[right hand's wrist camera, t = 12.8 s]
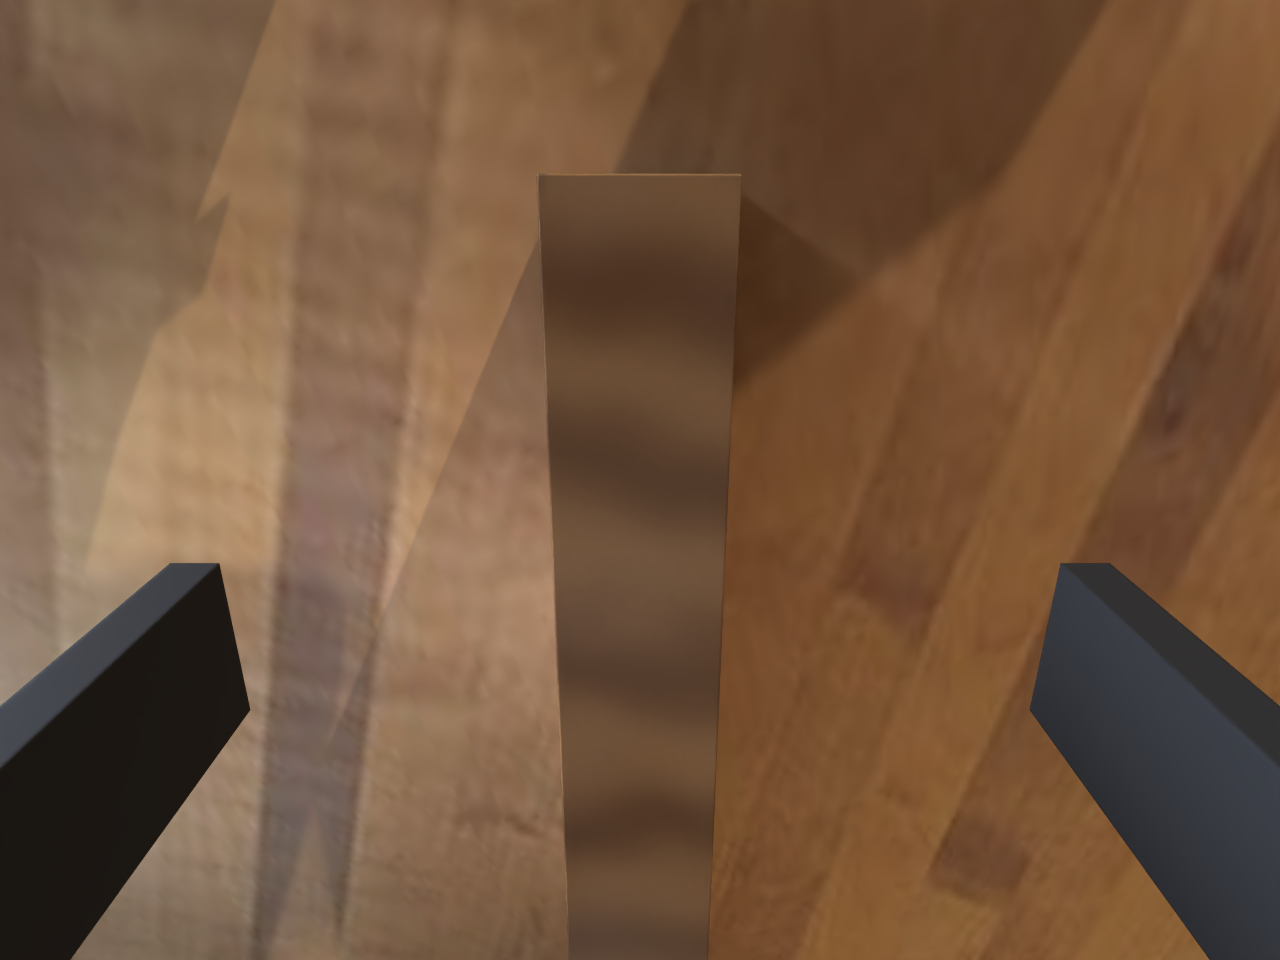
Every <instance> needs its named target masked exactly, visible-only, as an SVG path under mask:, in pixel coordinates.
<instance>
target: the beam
mask: <svg viewBox="0 0 1280 960" xmlns="http://www.w3.org/2000/svg"><path fill="white" fill-rule="evenodd" d="M741 183H742V176H741V174H593V173H539V174H537V198H538V222H539V247H540V271H541V296H542V320H543V344H544V369H545V393H546V417H547V442H548V466H549V490H550V515H551V539H552V564H553V588H554V612H555V637H556V661H557V685H558V710H559V734H560V759H561V783H562V807H563V832H564V856H565V880H566V905H567V929H568V953H569V960H708V947H709V924H710V901H711V878H712V854H713V831H714V808H715V785H716V762H717V739H718V715H719V692H720V669H721V646H722V623H723V600H724V576H725V553H726V530H727V507H728V484H729V461H730V437H731V414H732V391H733V368H734V345H735V322H736V298H737V275H738V252H739V229H740V206H741Z"/></svg>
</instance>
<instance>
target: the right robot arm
mask: <svg viewBox="0 0 1280 960" xmlns="http://www.w3.org/2000/svg"><path fill="white" fill-rule="evenodd" d="M249 711H250V706H249V702H248V697H247V692H246V687H245V683H244V678H243V673H242V668H241V664H240V659H239V654H238V650H237V645H236V640H235V635H234V631H233V626H232V621H231V616H230V612H229V607H228V602H227V597H226V593H225V588H224V583H223V579H222V574H221V569H220V564H219V563H170V564H169V565H168V566H166V567H165V568H164V569H163V570H162V571H161V572H159V573H158V574H157V575H156V576H155V577H153V578H152V579H151V580H150V581H149V582H147V583H146V584H145V585H144V586H143V587H141V588H140V589H139V590H138V591H137V592H136V593H134V594H133V595H132V596H131V597H130V598H128V599H127V600H126V601H125V602H124V603H122V604H121V605H120V606H119V607H118V608H116V609H115V610H114V611H113V612H112V613H111V614H109V615H108V616H107V617H106V618H105V619H103V620H102V621H101V622H100V623H99V624H97V625H96V626H95V627H94V628H93V629H91V630H90V631H89V632H88V633H87V634H86V635H84V636H83V637H82V638H81V639H80V640H78V641H77V642H76V643H75V644H74V645H72V646H71V647H70V648H69V649H68V650H66V651H65V652H64V653H63V654H62V655H61V656H59V657H58V658H57V659H56V660H55V661H53V662H52V663H51V664H50V665H49V666H47V667H46V668H45V669H44V670H43V671H41V672H40V673H39V674H38V675H37V676H35V677H34V678H33V679H32V680H31V681H30V682H28V683H27V684H26V685H25V686H24V687H22V688H21V689H20V690H19V691H18V692H16V693H15V694H14V695H13V696H12V697H10V698H9V699H8V700H7V701H6V702H5V703H3V704H2V705H1V706H0V960H70V959H71V958H72V957H73V955H74V954H75V953H76V951H77V950H78V948H79V947H80V946H81V944H82V943H83V941H84V940H85V939H86V937H87V936H88V934H89V933H90V932H91V930H92V929H93V928H94V926H95V925H96V923H97V922H98V921H99V919H100V918H101V916H102V915H103V914H104V912H105V911H106V909H107V908H108V907H109V905H110V904H111V903H112V901H113V900H114V898H115V897H116V896H117V894H118V893H119V891H120V890H121V889H122V887H123V886H124V885H125V883H126V882H127V880H128V879H129V878H130V876H131V875H132V873H133V872H134V871H135V869H136V868H137V866H138V865H139V864H140V862H141V861H142V860H143V858H144V857H145V855H146V854H147V853H148V851H149V850H150V848H151V847H152V846H153V844H154V843H155V841H156V840H157V839H158V837H159V836H160V835H161V833H162V832H163V830H164V829H165V828H166V826H167V825H168V823H169V822H170V821H171V819H172V818H173V816H174V815H175V814H176V812H177V811H178V810H179V808H180V807H181V805H182V804H183V803H184V801H185V800H186V798H187V797H188V796H189V794H190V793H191V791H192V790H193V789H194V787H195V786H196V785H197V783H198V782H199V780H200V779H201V778H202V776H203V775H204V773H205V772H206V771H207V769H208V768H209V767H210V765H211V764H212V762H213V761H214V760H215V758H216V757H217V755H218V754H219V753H220V751H221V750H222V748H223V747H224V746H225V744H226V743H227V742H228V740H229V739H230V737H231V736H232V735H233V733H234V732H235V730H236V729H237V728H238V726H239V725H240V723H241V722H242V721H243V719H244V718H245V717H246V715H247V714H248V712H249ZM1030 711H1031V712H1032V714H1033V715H1034V717H1035V718H1036V719H1037V721H1038V722H1039V723H1040V725H1041V726H1042V728H1043V729H1044V730H1045V732H1046V733H1047V735H1048V736H1049V737H1050V739H1051V740H1052V742H1053V743H1054V744H1055V746H1056V747H1057V748H1058V750H1059V751H1060V753H1061V754H1062V755H1063V757H1064V758H1065V760H1066V761H1067V762H1068V764H1069V765H1070V767H1071V768H1072V769H1073V771H1074V772H1075V773H1076V775H1077V776H1078V778H1079V779H1080V780H1081V782H1082V783H1083V785H1084V786H1085V787H1086V789H1087V790H1088V791H1089V793H1090V794H1091V796H1092V797H1093V798H1094V800H1095V801H1096V803H1097V804H1098V805H1099V807H1100V808H1101V810H1102V811H1103V812H1104V814H1105V815H1106V816H1107V818H1108V819H1109V821H1110V822H1111V823H1112V825H1113V826H1114V828H1115V829H1116V830H1117V832H1118V833H1119V835H1120V836H1121V837H1122V839H1123V840H1124V841H1125V843H1126V844H1127V846H1128V847H1129V848H1130V850H1131V851H1132V853H1133V854H1134V855H1135V857H1136V858H1137V860H1138V861H1139V862H1140V864H1141V865H1142V866H1143V868H1144V869H1145V871H1146V872H1147V873H1148V875H1149V876H1150V878H1151V879H1152V880H1153V882H1154V883H1155V885H1156V886H1157V887H1158V889H1159V890H1160V891H1161V893H1162V894H1163V896H1164V897H1165V898H1166V900H1167V901H1168V903H1169V904H1170V905H1171V907H1172V908H1173V909H1174V911H1175V912H1176V914H1177V915H1178V916H1179V918H1180V919H1181V921H1182V922H1183V923H1184V925H1185V926H1186V928H1187V929H1188V930H1189V932H1190V933H1191V934H1192V936H1193V937H1194V939H1195V940H1196V941H1197V943H1198V944H1199V946H1200V947H1201V948H1202V950H1203V951H1204V953H1205V954H1206V955H1207V957H1208V958H1209V959H1210V960H1280V706H1279V705H1278V704H1277V703H1275V702H1274V701H1273V700H1272V699H1271V698H1270V697H1268V696H1267V695H1266V694H1265V693H1264V692H1262V691H1261V690H1260V689H1259V688H1258V687H1256V686H1255V685H1254V684H1253V683H1252V682H1250V681H1249V680H1248V679H1247V678H1246V677H1245V676H1243V675H1242V674H1241V673H1240V672H1239V671H1237V670H1236V669H1235V668H1234V667H1233V666H1231V665H1230V664H1229V663H1228V662H1227V661H1225V660H1224V659H1223V658H1222V657H1221V656H1219V655H1218V654H1217V653H1216V652H1215V651H1214V650H1212V649H1211V648H1210V647H1209V646H1208V645H1206V644H1205V643H1204V642H1203V641H1202V640H1200V639H1199V638H1198V637H1197V636H1196V635H1194V634H1193V633H1192V632H1191V631H1190V630H1189V629H1187V628H1186V627H1185V626H1184V625H1183V624H1181V623H1180V622H1179V621H1178V620H1177V619H1175V618H1174V617H1173V616H1172V615H1171V614H1169V613H1168V612H1167V611H1166V610H1165V609H1164V608H1162V607H1161V606H1160V605H1159V604H1158V603H1156V602H1155V601H1154V600H1153V599H1152V598H1150V597H1149V596H1148V595H1147V594H1146V593H1144V592H1143V591H1142V590H1141V589H1140V588H1139V587H1137V586H1136V585H1135V584H1134V583H1133V582H1131V581H1130V580H1129V579H1128V578H1127V577H1125V576H1124V575H1123V574H1122V573H1121V572H1119V571H1118V570H1117V569H1116V568H1115V567H1114V566H1112V565H1111V564H1110V563H1061V564H1060V569H1059V574H1058V579H1057V583H1056V588H1055V593H1054V597H1053V602H1052V607H1051V612H1050V616H1049V621H1048V626H1047V631H1046V635H1045V640H1044V645H1043V650H1042V654H1041V659H1040V664H1039V668H1038V673H1037V678H1036V683H1035V687H1034V692H1033V697H1032V702H1031V706H1030Z"/></svg>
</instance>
